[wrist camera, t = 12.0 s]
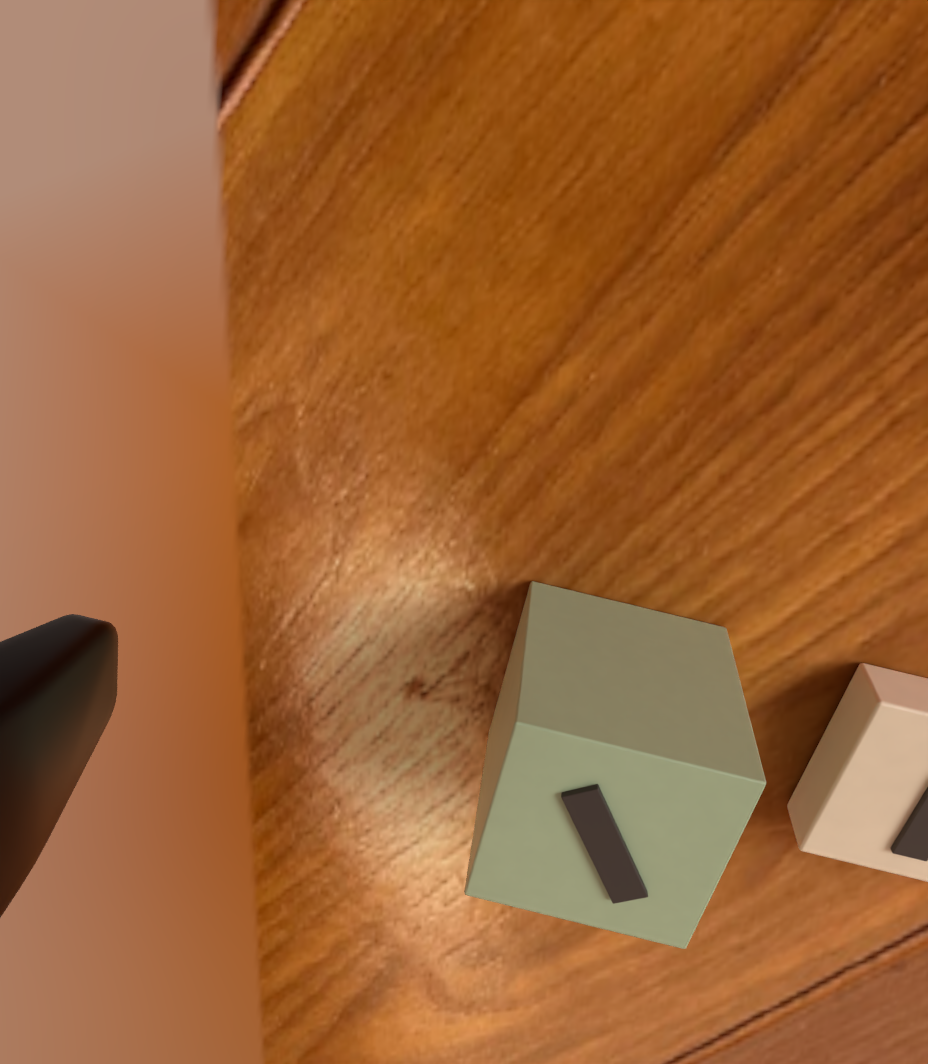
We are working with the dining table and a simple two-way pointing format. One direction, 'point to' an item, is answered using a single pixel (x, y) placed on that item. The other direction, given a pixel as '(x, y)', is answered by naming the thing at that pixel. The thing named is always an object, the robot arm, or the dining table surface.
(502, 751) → the green letter i block
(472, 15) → the dining table surface
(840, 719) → the beige letter tiles
